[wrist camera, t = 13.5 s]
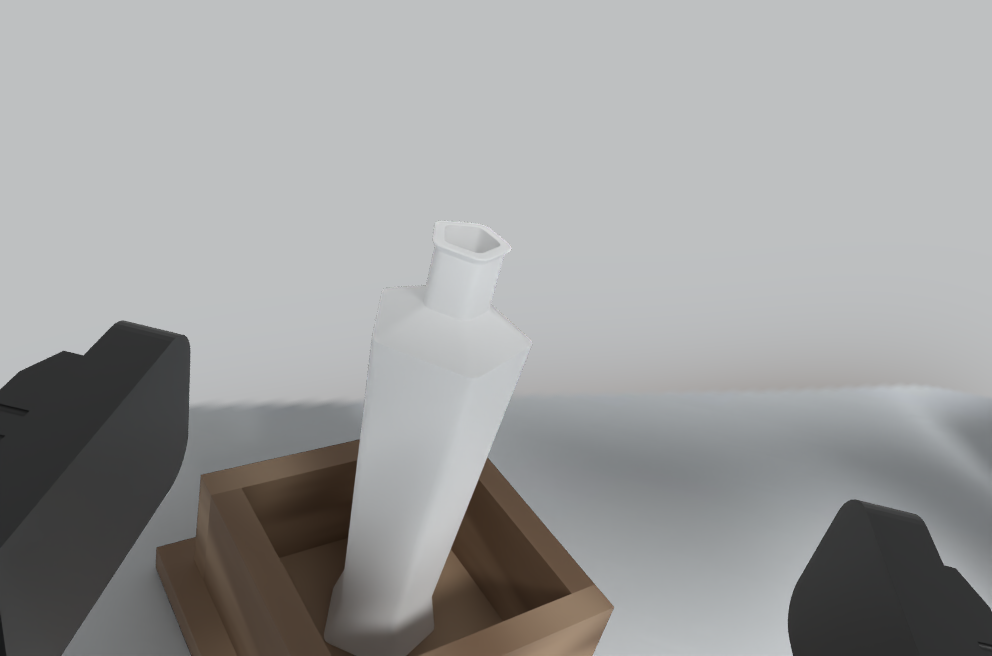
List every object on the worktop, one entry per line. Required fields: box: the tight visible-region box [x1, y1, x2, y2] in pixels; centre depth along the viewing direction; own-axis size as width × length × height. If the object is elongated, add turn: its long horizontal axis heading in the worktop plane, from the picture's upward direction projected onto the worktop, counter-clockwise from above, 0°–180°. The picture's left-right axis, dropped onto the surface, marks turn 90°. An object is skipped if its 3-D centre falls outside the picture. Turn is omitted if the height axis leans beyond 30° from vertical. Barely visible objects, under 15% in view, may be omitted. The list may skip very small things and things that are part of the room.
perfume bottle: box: [324, 221, 532, 656], centre depth 26 cm, size 5×4×15 cm
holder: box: [156, 440, 614, 656], centre depth 29 cm, size 12×12×5 cm
